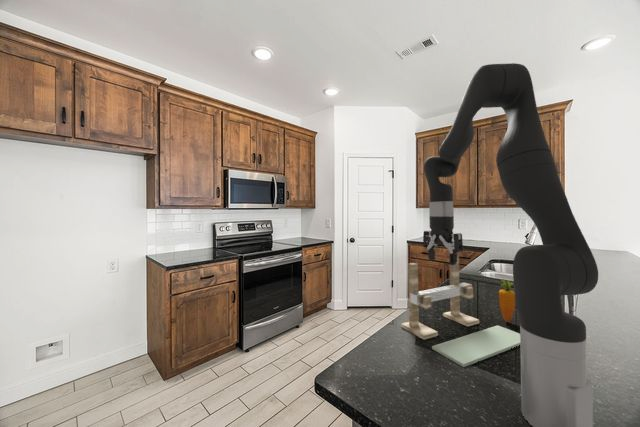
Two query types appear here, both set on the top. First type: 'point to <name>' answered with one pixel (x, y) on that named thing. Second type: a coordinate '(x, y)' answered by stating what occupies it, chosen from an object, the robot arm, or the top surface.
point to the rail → (439, 293)
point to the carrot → (507, 301)
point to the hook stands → (413, 322)
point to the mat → (478, 345)
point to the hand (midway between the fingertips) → (442, 262)
